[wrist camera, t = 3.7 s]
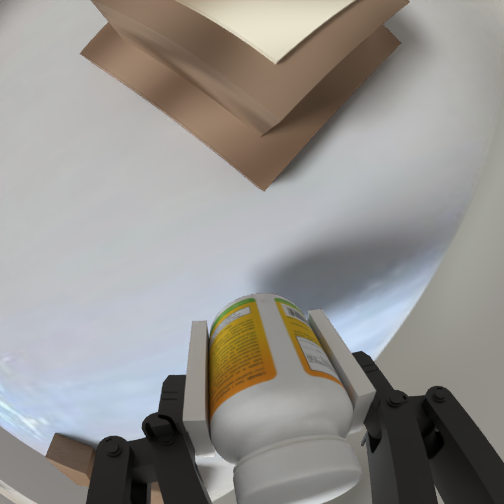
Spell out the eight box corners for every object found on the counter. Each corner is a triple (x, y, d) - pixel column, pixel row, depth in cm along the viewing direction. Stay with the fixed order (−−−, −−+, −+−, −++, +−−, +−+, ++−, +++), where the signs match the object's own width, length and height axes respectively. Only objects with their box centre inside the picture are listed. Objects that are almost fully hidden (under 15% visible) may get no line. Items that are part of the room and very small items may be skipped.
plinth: (92, 63, 12) (33, 21, 5) (237, -53, 10) (246, -114, 3) (259, 188, 16) (288, 205, 9) (386, 51, 14) (452, 18, 7)
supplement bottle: (209, 369, 15) (215, 522, 6) (209, 289, 14) (207, 472, 4) (297, 367, 16) (350, 502, 7) (312, 290, 14) (412, 434, 5)
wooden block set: (184, 500, 19) (179, 529, 24) (185, 461, 24) (180, 502, 29) (40, 458, 16) (77, 503, 21) (54, 425, 21) (83, 479, 26)
